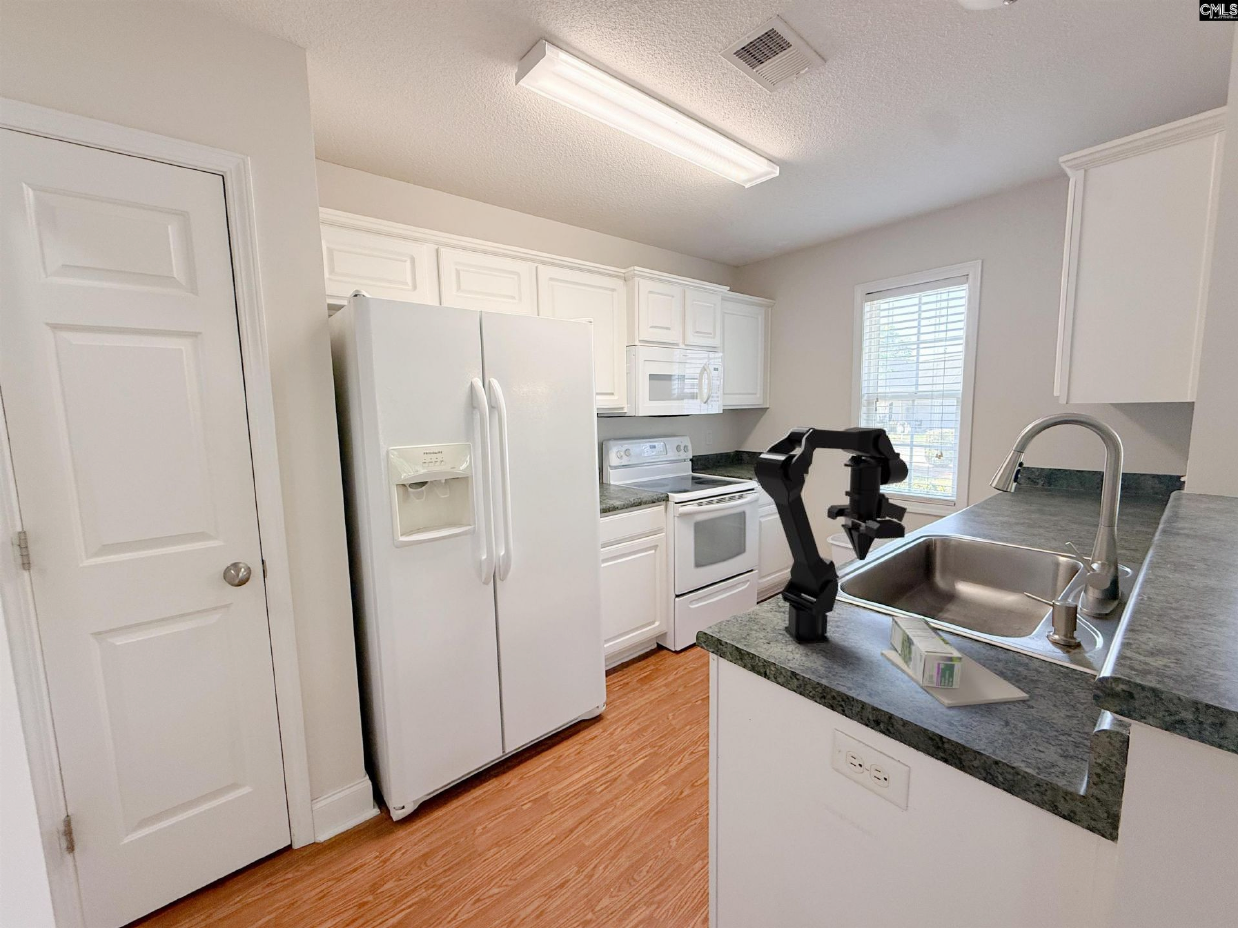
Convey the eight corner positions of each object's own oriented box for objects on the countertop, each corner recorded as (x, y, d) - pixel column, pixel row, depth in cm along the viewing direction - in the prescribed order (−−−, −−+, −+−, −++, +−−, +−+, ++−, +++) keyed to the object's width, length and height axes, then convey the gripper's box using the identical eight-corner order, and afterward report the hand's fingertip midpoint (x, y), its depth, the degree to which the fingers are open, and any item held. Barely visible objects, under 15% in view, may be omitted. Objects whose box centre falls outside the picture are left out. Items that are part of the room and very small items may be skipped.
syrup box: (921, 645, 94) (962, 690, 80) (888, 644, 95) (922, 687, 81) (924, 617, 93) (965, 656, 79) (890, 615, 94) (925, 654, 80)
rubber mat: (946, 707, 76) (946, 703, 76) (880, 654, 92) (881, 651, 92) (1028, 699, 78) (1028, 695, 78) (950, 648, 94) (950, 645, 94)
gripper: (933, 494, 95) (928, 572, 98) (873, 479, 114) (870, 545, 116) (879, 496, 94) (875, 575, 96) (827, 481, 113) (824, 547, 115)
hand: (861, 559), depth 106 cm, fingers closed
